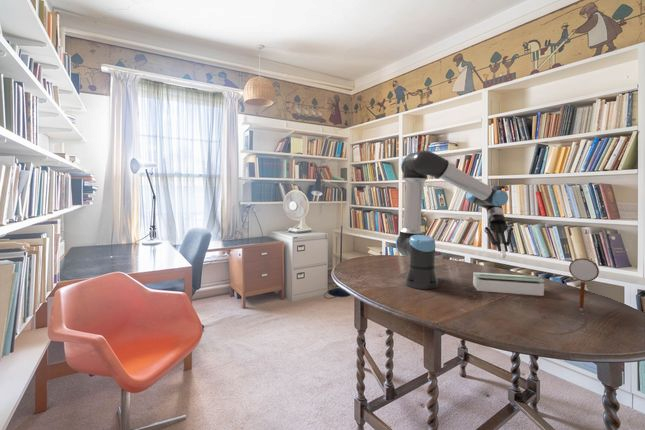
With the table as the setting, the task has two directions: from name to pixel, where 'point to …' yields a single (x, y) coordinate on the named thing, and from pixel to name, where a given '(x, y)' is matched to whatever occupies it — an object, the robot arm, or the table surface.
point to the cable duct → (508, 286)
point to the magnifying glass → (583, 274)
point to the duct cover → (508, 277)
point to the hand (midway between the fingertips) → (503, 256)
